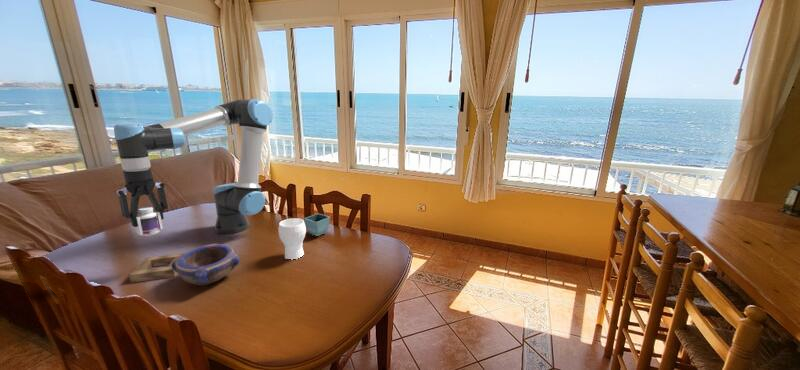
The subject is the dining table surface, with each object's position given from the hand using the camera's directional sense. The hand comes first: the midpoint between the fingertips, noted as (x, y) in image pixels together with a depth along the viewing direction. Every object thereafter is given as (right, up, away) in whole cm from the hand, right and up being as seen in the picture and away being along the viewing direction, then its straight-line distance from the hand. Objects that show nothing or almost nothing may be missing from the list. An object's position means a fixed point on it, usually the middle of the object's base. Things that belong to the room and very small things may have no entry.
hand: (150, 231), depth 109 cm
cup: (+47, -13, +16) cm, 52 cm away
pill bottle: (0, -1, 0) cm, 1 cm away
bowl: (+23, -17, -1) cm, 29 cm away
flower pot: (+51, -8, +37) cm, 64 cm away
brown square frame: (+1, -15, +4) cm, 16 cm away
